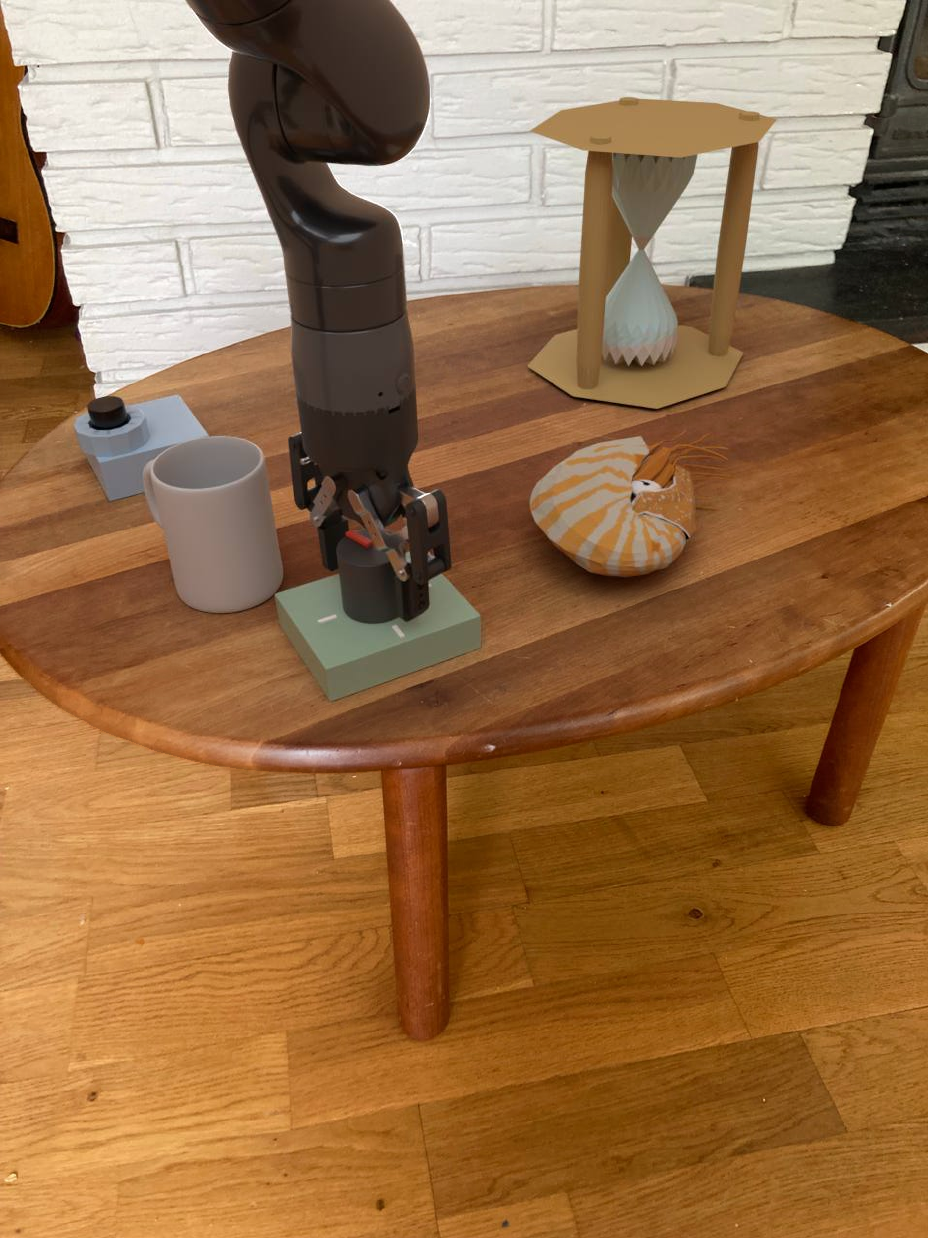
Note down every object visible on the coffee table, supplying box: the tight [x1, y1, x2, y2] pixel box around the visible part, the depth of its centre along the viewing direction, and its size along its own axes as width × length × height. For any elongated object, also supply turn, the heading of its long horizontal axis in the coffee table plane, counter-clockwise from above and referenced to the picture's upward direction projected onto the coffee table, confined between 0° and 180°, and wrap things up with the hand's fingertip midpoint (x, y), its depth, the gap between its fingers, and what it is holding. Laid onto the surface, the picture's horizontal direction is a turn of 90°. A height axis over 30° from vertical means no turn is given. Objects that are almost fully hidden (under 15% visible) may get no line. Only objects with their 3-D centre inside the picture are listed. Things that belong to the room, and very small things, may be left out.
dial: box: [336, 528, 406, 623], centre depth 74 cm, size 5×5×5 cm
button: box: [86, 395, 129, 430], centre depth 93 cm, size 3×3×2 cm
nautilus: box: [529, 428, 735, 578], centre depth 85 cm, size 8×22×15 cm
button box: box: [73, 394, 210, 502], centre depth 97 cm, size 11×10×6 cm
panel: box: [274, 551, 482, 703], centre depth 77 cm, size 12×10×3 cm
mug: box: [143, 435, 284, 614], centre depth 81 cm, size 12×8×11 cm
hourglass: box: [527, 96, 778, 410], centre depth 107 cm, size 24×22×25 cm
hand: (374, 589), depth 75 cm, fingers open, 8 cm apart
